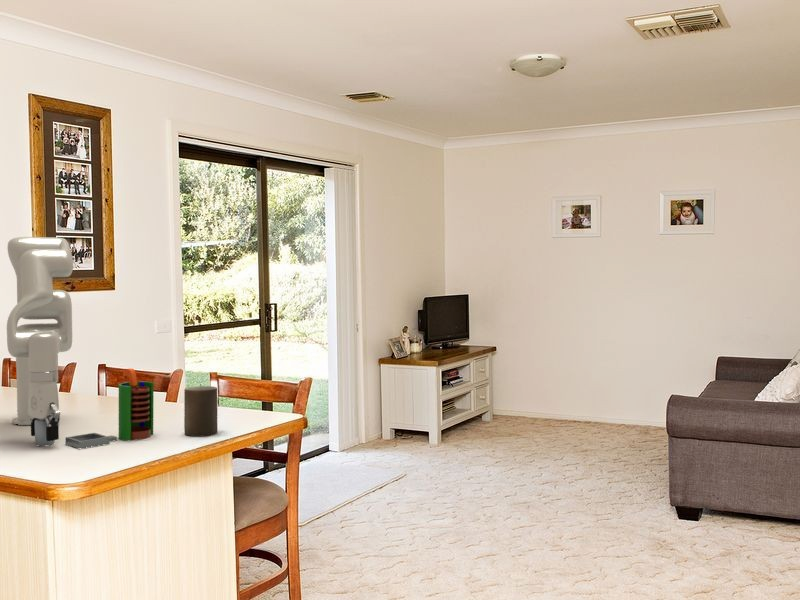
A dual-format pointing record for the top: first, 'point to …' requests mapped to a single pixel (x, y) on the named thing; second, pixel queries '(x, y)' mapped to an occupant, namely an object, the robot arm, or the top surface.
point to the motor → (135, 408)
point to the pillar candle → (200, 411)
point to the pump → (41, 433)
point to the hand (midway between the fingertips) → (44, 437)
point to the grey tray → (88, 440)
